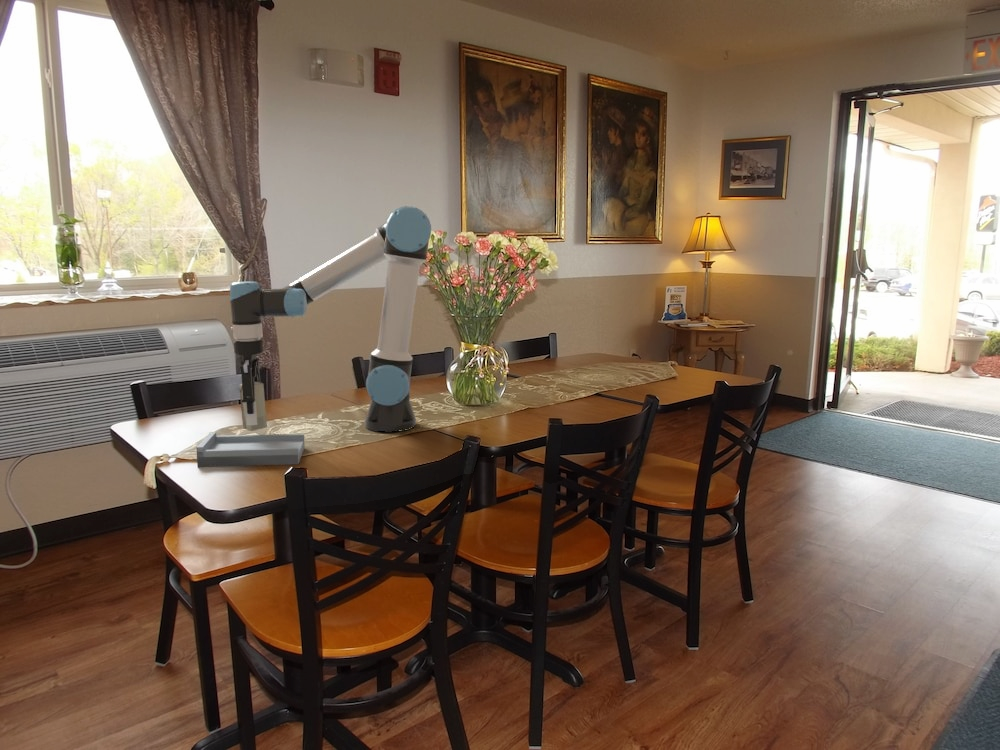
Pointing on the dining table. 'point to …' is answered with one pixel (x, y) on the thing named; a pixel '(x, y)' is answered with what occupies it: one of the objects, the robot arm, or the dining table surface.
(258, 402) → the box
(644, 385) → the dining table surface
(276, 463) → the blue-grey tray
